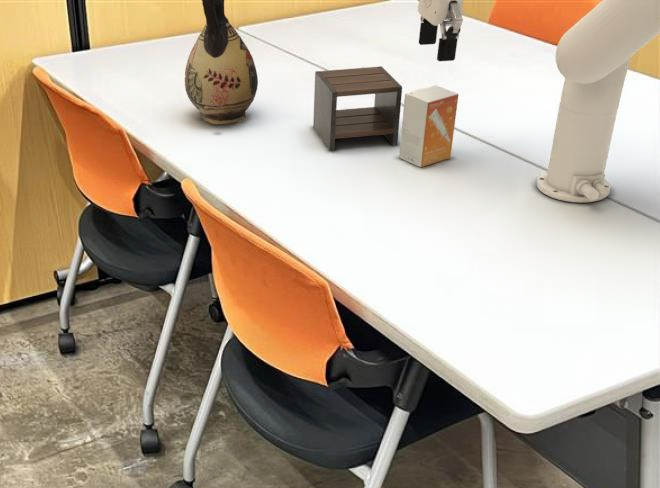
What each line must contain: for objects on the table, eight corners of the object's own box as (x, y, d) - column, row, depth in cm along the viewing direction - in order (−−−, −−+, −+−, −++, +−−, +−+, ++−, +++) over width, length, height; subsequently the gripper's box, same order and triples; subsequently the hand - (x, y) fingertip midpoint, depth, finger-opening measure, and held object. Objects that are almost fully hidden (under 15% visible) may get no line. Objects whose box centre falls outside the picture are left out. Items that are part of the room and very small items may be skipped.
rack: (397, 145, 196) (402, 86, 190) (329, 151, 194) (332, 92, 188) (377, 122, 207) (381, 66, 200) (313, 127, 205) (315, 71, 199)
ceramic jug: (198, 102, 220) (194, -38, 203) (265, 108, 215) (266, -34, 199) (173, 129, 206) (166, -18, 190) (244, 136, 202) (243, -14, 186)
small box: (420, 168, 186) (427, 102, 179) (398, 158, 191) (403, 92, 184) (451, 158, 190) (459, 93, 183) (428, 148, 194) (435, 84, 187)
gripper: (410, -56, 176) (401, 39, 186) (444, -34, 162) (432, 68, 172) (450, -58, 177) (439, 37, 187) (488, -36, 163) (473, 66, 173)
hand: (436, 52), depth 179 cm, fingers open, 9 cm apart
